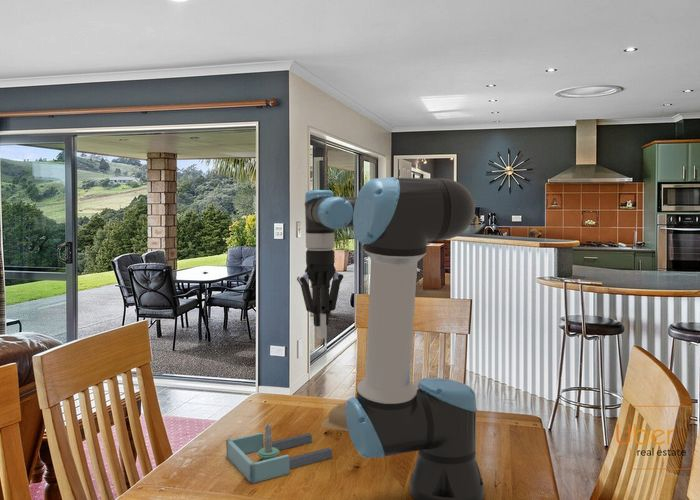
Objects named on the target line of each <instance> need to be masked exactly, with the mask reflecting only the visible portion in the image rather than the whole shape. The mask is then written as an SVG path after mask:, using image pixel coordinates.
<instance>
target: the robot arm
mask: <svg viewBox="0 0 700 500" xmlns="http://www.w3.org/2000/svg"><path fill="white" fill-rule="evenodd" d="M334 195H335V194H334V191H332V190H331V189H329V190H328V189H317V190H315V189H313V190H307V191H306V192H305V198H304V199H305V201H304V210H305V211H304V214H305V218H304V219H305V248H306V249H307V250H306V251H305V265H306V267H305V270H304V273H303V274H302V275H301V276H297V278H296V281H297V283H299V285H300V288H301V293H302V297H303V302H304V305H305V308H306V309H305V310H306V311H307V312H308V313H311V314H312V316H313V325H314V327H316V333H315V334H316V338H317V339H320V340H324V339H327V326H329V324H330V321H329V320H330V319H329V314H331V312H332V311H335V310H336V306H337V301H338V296H339V293H340V286H341V283H342V282H343V279H344V274H341V273H339V272H337V270H336V267H335V260H336V259H335V258H336V257H335V250H334V248H335V245H336V244H335V229H339V230H340V229H342V228H343V229H344V228H347V229H349V228H353V234H354V236H355V238H356V240H357V241H358V242H359V243H361V244H362V245H363V252H364V253H365V254H366V255H367V256H368V257H369V258H370V273H369V274H370V278H369V296H368V297H369V298H368V299H369V300H368V303H369V304H368V318H367V335H366V336H367V339H366V355H365V357H366V361H365V377H364V378H363V379H362V380H361V381H359V382H358V384H357V388H356V397H355V396H351V397H350V398H348V399H347V400H346V402H345V403H346V406H345V414H346V421H347V426H348V430H349V431H348V433H349V438H350V439H351V442H352V444H353V447H354V448H355V450H356V452H357V453H358V454H359V455H360V456H361V457H363V458H365V459H375V458H381V459H384V458H385V457H389V456H394V455H395V456H396V455H400V454H407V453H411V452H412V453H413V452H417V453H418V454H417V458H416V461H415V464H414V469H413V471H412V474H411V475H410V479H409V493H410V496H411V497H412V498H413V499H414V500H484V497H485V484H484V480H483V478H482V475H481V470H480V468H479V465H478V461H477V459H476V448H477V445H476V442H477V441H476V439H477V438H476V437H477V436H476V435H477V434H476V429H477V411H478V409H477V399H476V393H475V391H474V390H473V388H472V387H470V386H469V385H467V384H466V383H463V382H460V381H457V380H453V379H447V378H441V377H425V378H422V379H419V380H418V384H417V385H416V386H417V387H416V386H415V385H414V383H413V382H412V381H411V369H412V368H411V366H412V365H411V364H412V355H413V354H412V352H413V351H412V350H413V338H414V337H413V336H414V335H413V333H414V324H415V323H414V320H415V307H416V294H417V293H416V292H417V291H416V289H417V276H418V262H419V261H420V260H421V259H422V258H423V257H425V256H426V255H427V249H428V247H427V246H428V242H436V241H437V242H438V241H445V240H451V239H453V238H454V239H455V238H457V237H458V236H460V235H461V234H463V233H465V232H466V231H467V230H468V229H469V227H470V226H471V224H472V223H473V221H474V218H475V213H476V205H475V201H474V199H473V196H472V193H470V191H469V190H468V188H466V186H464V185H462V184H461V183H460V182H458V181H456V180H452V179H448V178H443V177H442V178H441V177H434V178H431V177H430V178H429V177H428V178H427V177H423V178H422V177H394V176H392V177H391V176H388V177H380V178H378V177H377V178H371V179H370V180H368V181H366V182H365V183H364V184H363V186H361V189H359V192H358V194H357V196H348V197H347V196H344V197H343V196H334ZM331 280H332V281H331ZM309 282H311V283H310V284H311V288H312V289H310V285H309ZM311 290H312V293H311Z"/></svg>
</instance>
